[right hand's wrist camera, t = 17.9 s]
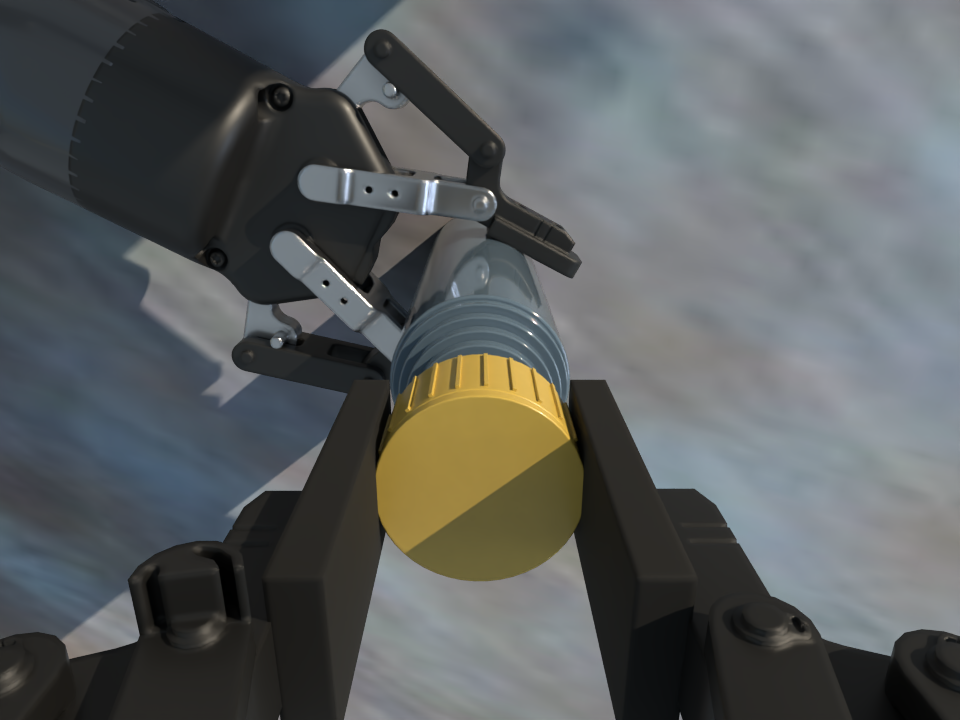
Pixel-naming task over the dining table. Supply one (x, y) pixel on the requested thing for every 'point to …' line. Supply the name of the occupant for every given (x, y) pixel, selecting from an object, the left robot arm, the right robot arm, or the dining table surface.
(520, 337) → the bottle
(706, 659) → the right robot arm
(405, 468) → the cap
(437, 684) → the dining table surface
